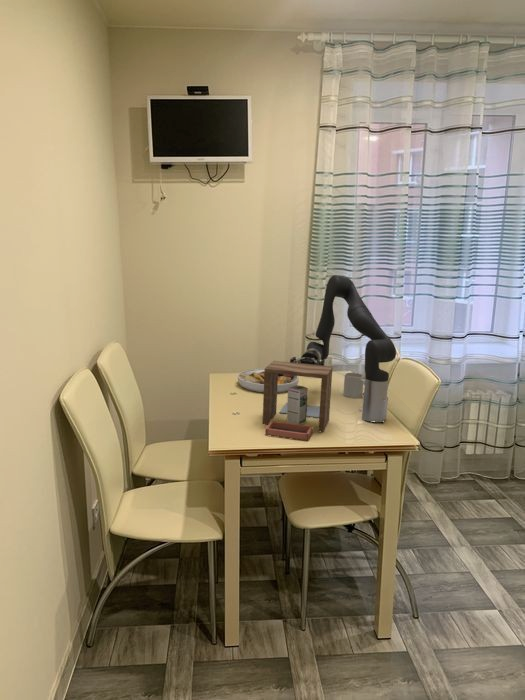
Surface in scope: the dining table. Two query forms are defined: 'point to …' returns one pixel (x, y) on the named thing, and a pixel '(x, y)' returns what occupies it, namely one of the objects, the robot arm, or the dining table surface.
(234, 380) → the dining table surface
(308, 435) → the tray
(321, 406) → the walnut tunnel
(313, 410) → the pad
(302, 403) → the syrup box
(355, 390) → the mug
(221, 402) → the dining table surface
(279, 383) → the bowl
